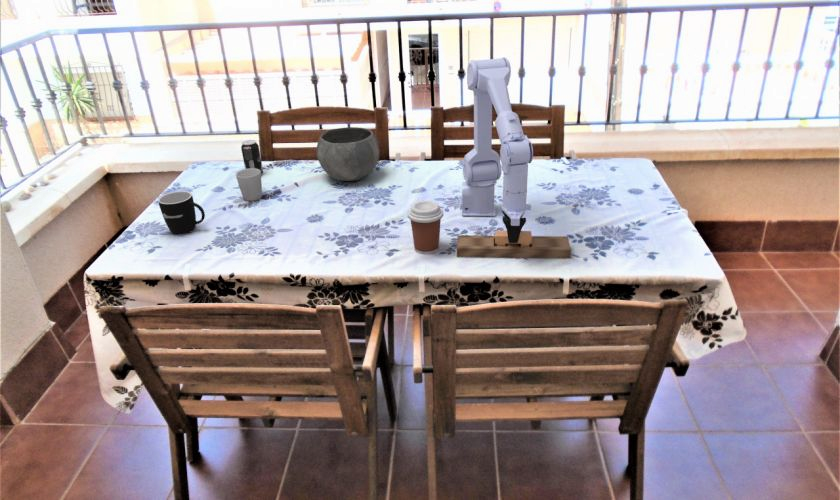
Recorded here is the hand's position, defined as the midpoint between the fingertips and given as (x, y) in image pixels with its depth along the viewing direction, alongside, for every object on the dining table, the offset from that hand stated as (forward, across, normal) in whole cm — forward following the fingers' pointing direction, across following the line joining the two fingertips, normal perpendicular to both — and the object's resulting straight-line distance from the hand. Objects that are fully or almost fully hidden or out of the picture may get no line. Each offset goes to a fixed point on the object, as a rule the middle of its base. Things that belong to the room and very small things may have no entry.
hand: (512, 239), depth 151 cm
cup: (+4, +34, +80) cm, 87 cm away
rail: (+3, 0, 0) cm, 3 cm away
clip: (+3, 0, 0) cm, 4 cm away
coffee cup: (+4, +1, +22) cm, 22 cm away
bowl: (+4, +50, +52) cm, 72 cm away
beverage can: (+4, +52, +86) cm, 101 cm away
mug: (+4, +10, +91) cm, 92 cm away
